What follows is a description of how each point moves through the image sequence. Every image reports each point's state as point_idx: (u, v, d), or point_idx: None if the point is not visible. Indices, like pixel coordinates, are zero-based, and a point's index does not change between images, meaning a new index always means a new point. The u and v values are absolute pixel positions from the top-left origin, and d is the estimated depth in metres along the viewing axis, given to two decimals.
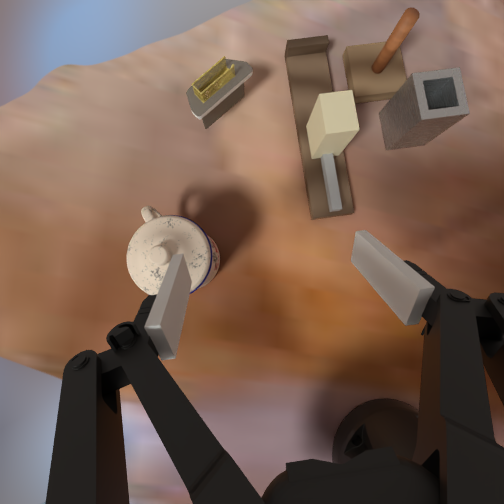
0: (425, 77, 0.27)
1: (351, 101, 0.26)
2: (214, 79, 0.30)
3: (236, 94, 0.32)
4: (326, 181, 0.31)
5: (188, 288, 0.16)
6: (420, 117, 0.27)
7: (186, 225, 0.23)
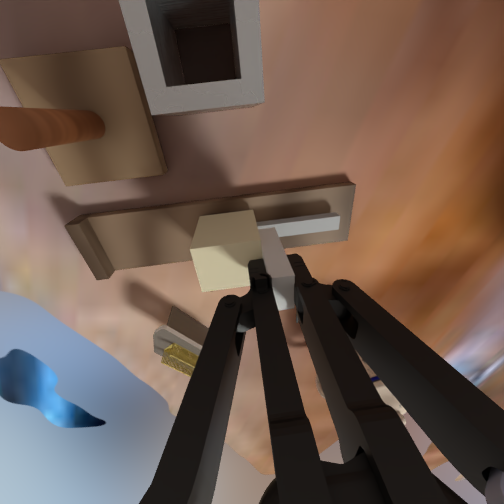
0: (156, 76, 0.11)
1: (211, 250, 0.16)
2: (179, 354, 0.27)
3: (180, 321, 0.27)
4: None
5: None
6: (257, 103, 0.12)
7: None
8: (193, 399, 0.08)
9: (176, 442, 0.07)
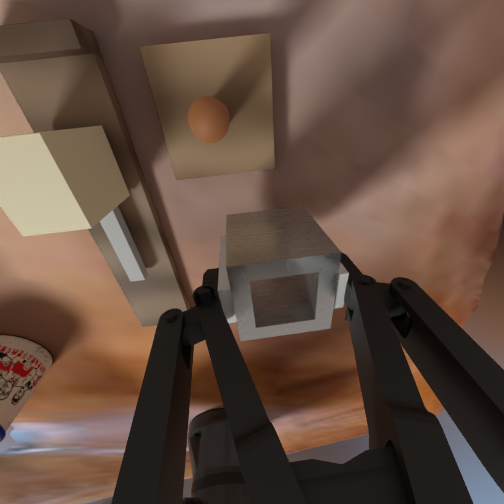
0: (257, 274, 0.12)
1: (49, 166, 0.11)
2: None
3: None
4: None
5: None
6: None
7: None
8: (142, 428, 0.07)
9: (127, 480, 0.06)
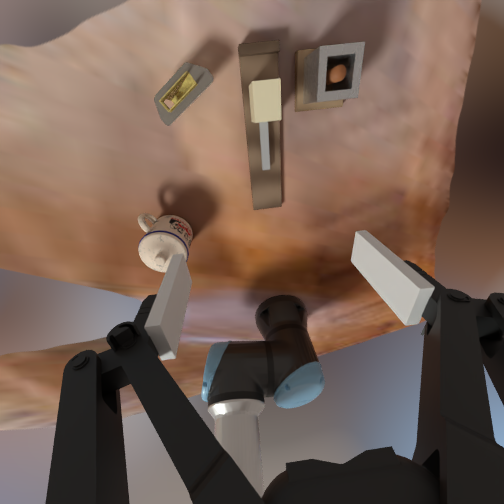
0: (330, 52, 0.29)
1: (278, 91, 0.32)
2: (178, 84, 0.33)
3: None
4: (261, 145, 0.40)
5: (188, 288, 0.16)
6: (316, 98, 0.32)
7: (171, 239, 0.40)
8: None
9: None
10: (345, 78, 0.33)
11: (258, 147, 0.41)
